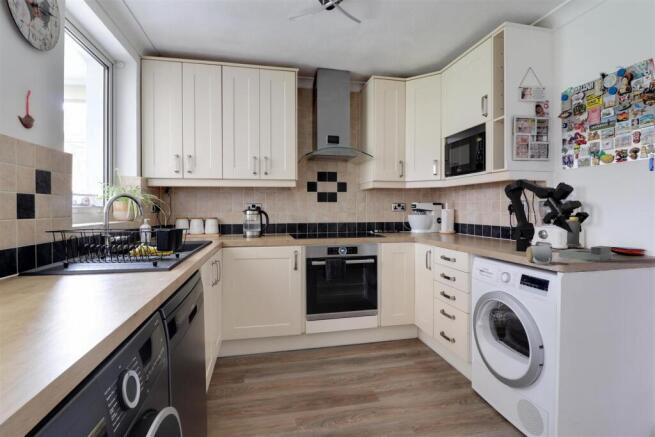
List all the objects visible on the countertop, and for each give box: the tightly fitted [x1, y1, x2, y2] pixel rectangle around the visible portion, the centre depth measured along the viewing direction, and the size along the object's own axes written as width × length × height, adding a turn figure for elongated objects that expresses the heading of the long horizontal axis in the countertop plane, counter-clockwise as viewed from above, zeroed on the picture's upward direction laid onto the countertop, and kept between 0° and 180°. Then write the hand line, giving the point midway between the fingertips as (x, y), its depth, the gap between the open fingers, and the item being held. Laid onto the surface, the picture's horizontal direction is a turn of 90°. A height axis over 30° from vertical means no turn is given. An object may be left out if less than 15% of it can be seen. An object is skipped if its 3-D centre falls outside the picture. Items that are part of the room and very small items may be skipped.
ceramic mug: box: [525, 245, 553, 266], centre depth 135 cm, size 11×8×8 cm
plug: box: [566, 217, 581, 247], centre depth 142 cm, size 5×5×13 cm
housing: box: [558, 245, 612, 262], centre depth 149 cm, size 16×12×6 cm
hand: (575, 231), depth 140 cm, fingers closed on plug, 4 cm apart
